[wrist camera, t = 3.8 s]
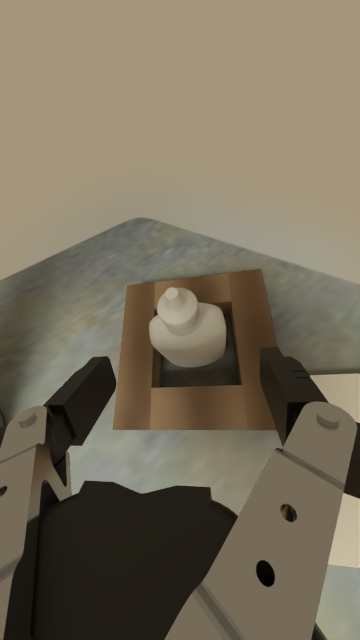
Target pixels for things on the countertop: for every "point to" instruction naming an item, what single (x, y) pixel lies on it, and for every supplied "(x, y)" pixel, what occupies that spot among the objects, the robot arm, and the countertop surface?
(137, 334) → the walnut socket stand
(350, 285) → the countertop surface
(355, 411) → the off-white tile
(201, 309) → the eye dropper bottle
